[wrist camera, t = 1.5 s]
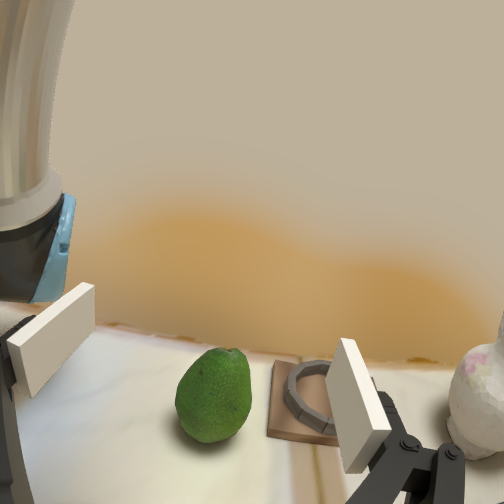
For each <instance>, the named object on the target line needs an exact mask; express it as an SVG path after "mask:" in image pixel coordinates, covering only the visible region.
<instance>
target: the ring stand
mask: <svg viewBox="0 0 504 504" xmlns="http://www.w3.org/2000/svg"><path fill="white" fill-rule="evenodd" d="M331 363H332V362H330V361H325V360H314V361H308V362H302V363H300V364H299V365H298V364H293V363H288V362H283V361H279V360H275V362H274V365H273V370H272V382H271V394H270V406H269V418H268V429H267V436H268V437H274V438H280V439H286V440H292V441H299V442H306V443H314V444H322V445H332V446H339V442H338V437H337V432H336V428H335V423H334V418H333V414H332V409H331V404H330V400H329V395H328V391H327V386H326V382H325V378H326V375H327V373H328V370H329V368H330V365H331ZM370 378H371V380H372V382H373V385H374V387H375V390H376V391H377V388H376V386H375V383H374V379H373V377H370Z"/></svg>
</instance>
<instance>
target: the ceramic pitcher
mask: <svg viewBox="0 0 504 504" xmlns="http://www.w3.org/2000/svg"><path fill="white" fill-rule="evenodd" d="M449 407H450V412H451V415H450V416H449V417H447V418H446V421H447V427H448V431H449V433H450V436H451V438H452V441H453V443H454V444H455V445H457V446H458V447H460V448H461V449H462V451H463V452H464V455H465V458H466V459H468V460H472V461H473V460H477V459H480V458H485V457H488V456H491V455H493V454H495V453H497V451H504V313H503V316H502V320H501V323H500V326H499V330H498V338H497V341H496V342H494V343H491V344H482V345H479V346H477V347H474V348H473V349H471V350H470V351H469V352H467V354H466V355H465V356H464V357H463V358H462V360H461V362H460V363H459V365H458V366H457V369H456V371H455V374H454V376H453V379H452V381H451V385H450V392H449Z"/></svg>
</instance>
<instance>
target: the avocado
mask: <svg viewBox="0 0 504 504" xmlns="http://www.w3.org/2000/svg"><path fill="white" fill-rule="evenodd" d="M251 403H252V393H251V380H250V369H249V364H248V361H247V358H246V356H245V355H244V354H243V353H242V352H240V351H239V350H238V349H237V348H215V349H212V350H208V351H207V352H206V353H204V354H203V355H202V356H201V357H200V358H199V359H197V360H196V361H195V362H194V363H193V365H192V366H191V367H190V368H189V369H188V370H187V372H186V373H185V375H184V376H183V377H182V379H181V380H180V382H179V385H178V387H177V392H176V398H175V407H176V410H177V413H178V416H179V420H180V424H181V425H182V427H183V428H184V430H185V431H186V433H187V434H189V435H190V436H191V437H193V438H194V439H196V440H197V441H199V442H205V443H213V442H217V441H221V440H225V439H227V438H229V437H231V436H233V435H235V434H236V432H237V431H238V430H239V429H240V428H241V427H242V425H243V424H244V422H245V421H246V419H247V417H248V414H249V412H250V409H251Z"/></svg>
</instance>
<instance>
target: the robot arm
mask: <svg viewBox="0 0 504 504" xmlns="http://www.w3.org/2000/svg"><path fill="white" fill-rule="evenodd" d="M74 2H75V0H0V301H5V302H18V303H28V304H33V303H35V302H53V301H56V300H58V299H59V298H60V297H61V296H62V294H63V292H64V287H65V280H66V271H67V263H68V253H69V245H70V238H71V233H72V225H73V218H74V211H75V205H76V199H75V197H74V196H72V195H69V194H67V193H62V180H61V177H60V175H59V173H58V172H57V170H56V169H55V168H54V167H52V166H51V165H50V164H49V163H48V154H49V153H48V152H49V139H50V127H51V117H52V109H53V101H54V93H55V86H56V80H57V75H58V69H59V63H60V58H61V53H62V49H63V44H64V40H65V35H66V31H67V27H68V23H69V19H70V16H71V12H72V9H73V5H74ZM94 289H95V285H91V284H88V283H84V282H82V283H81V284H80V285H78V286H77V287H75V288H74V289H73V290H71V291H70V292H69V293H67V294H66V295H64V296H63V297H62V298H60V299H59V300H58V301H56V302H55V303H54V304H52V305H51V306H50V307H48V308H47V309H46V310H44V311H43V312H42V313H40V314H39V315H38V316H36V315H32V316H29V317H27V318H25V319H23V320H22V321H21V322H19V324H17V325H15V326H14V327H13V328H11V329H10V330H9V331H7V332H6V333H5V334H4V335H2V336H1V337H0V504H34V500H33V497H32V493H31V490H30V486H29V482H28V478H27V474H26V469H25V465H24V460H23V455H22V450H21V445H20V439H19V433H18V427H17V420H16V412H15V403H14V393H13V389H12V386H13V385H14V384H15V383H16V382H17V386H18V390H19V392H20V393H22V394H24V395H26V396H28V397H30V398H33V397H34V396H35V395H36V394H37V392H38V391H39V390H40V389H41V388H42V387H43V386H44V384H45V383H46V382H47V381H48V380H49V379H50V378H51V377H52V375H53V374H54V373H55V372H56V371H57V370H58V369H59V368H60V367H61V365H62V364H63V363H64V362H65V361H66V360H67V359H68V358H69V357H70V356H71V355H72V353H73V352H74V351H75V350H76V349H77V348H78V347H79V346H80V345H81V344H82V343H83V342H84V341H85V339H86V338H87V337H88V336H89V335H90V334H91V333H92V332H93V331H94V330H95V304H94V302H95V301H94V300H95V298H94V297H95V294H94V293H95V292H94V291H95V290H94ZM325 382H326V386H327V391H328V395H329V400H330V404H331V409H332V414H333V418H334V423H335V428H336V432H337V437H338V442H339V447H340V452H341V457H342V462H343V467H344V472H345V474H357V473H363V471H364V470H365V468H366V467H367V466H368V467H369V470H370V473H369V474H368V476H367V477H366V478H365V480H364V481H363V482H362V483H361V485H360V486H359V487H358V489H357V490H356V491H355V492H354V494H353V495H352V496H351V497H350V498H349V500H348V501H347V502H346V503H345V504H393V502H394V501H395V499H396V497H397V496H398V494H399V492H400V491H405V492H407V493H406V498H405V502H404V504H464V491H465V455H464V452H463V451H462V449H461V448H460V447H458V446H457V445H455V444H453V443H444V444H442V445H441V446H440V447H439V449H438V450H432V449H427V448H423V447H422V445H421V443H420V441H419V440H418V439H417V438H415V437H414V436H412V435H409V434H407V432H406V430H405V428H404V425H403V423H402V421H401V418H400V416H399V414H398V412H397V409H396V408H395V405H394V403H393V400H392V399H391V398H390V397H389V396H388V394H387V393H386V392H382V391H376V390H375V387H374V385H373V382H372V380H371V378H370V375H369V373H368V370H367V368H366V366H365V363H364V361H363V359H362V356H361V354H360V352H359V350H358V347H357V345H356V343H355V341H354V340H352V339H346V338H340V341H339V344H338V347H337V349H336V352H335V355H334V357H333V360H332V363H331V365H330V368H329V370H328V373H327V375H326V378H325Z"/></svg>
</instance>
